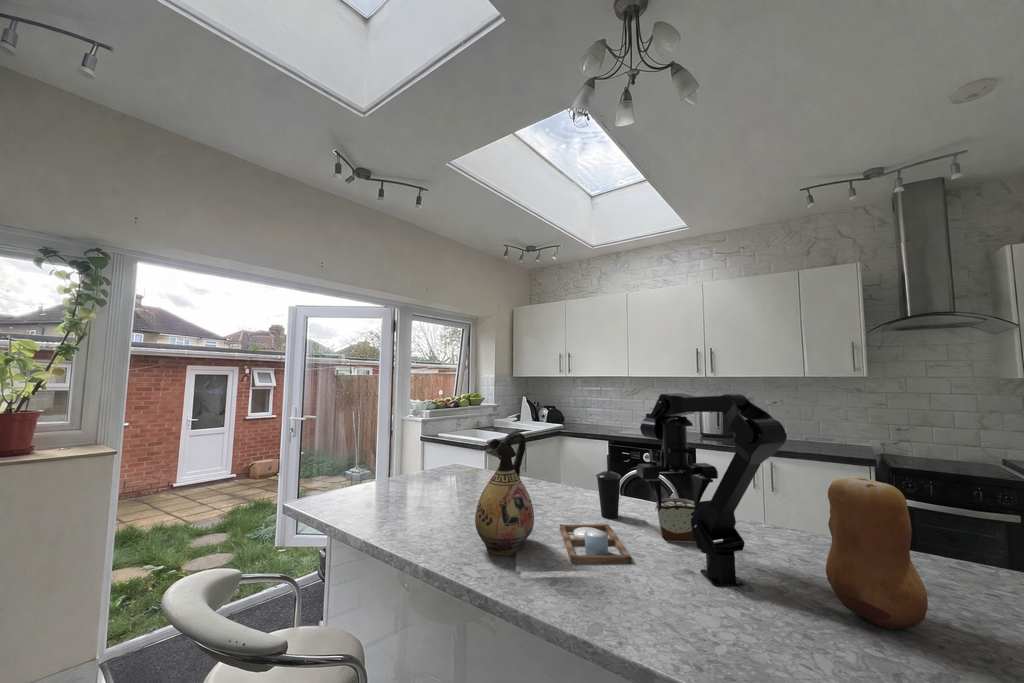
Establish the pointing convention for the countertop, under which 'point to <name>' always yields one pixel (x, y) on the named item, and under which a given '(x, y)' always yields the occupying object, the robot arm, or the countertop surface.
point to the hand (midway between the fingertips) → (677, 506)
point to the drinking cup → (609, 492)
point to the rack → (594, 558)
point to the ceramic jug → (505, 501)
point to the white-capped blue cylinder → (596, 542)
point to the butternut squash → (873, 553)
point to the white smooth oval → (582, 532)
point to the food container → (676, 519)
